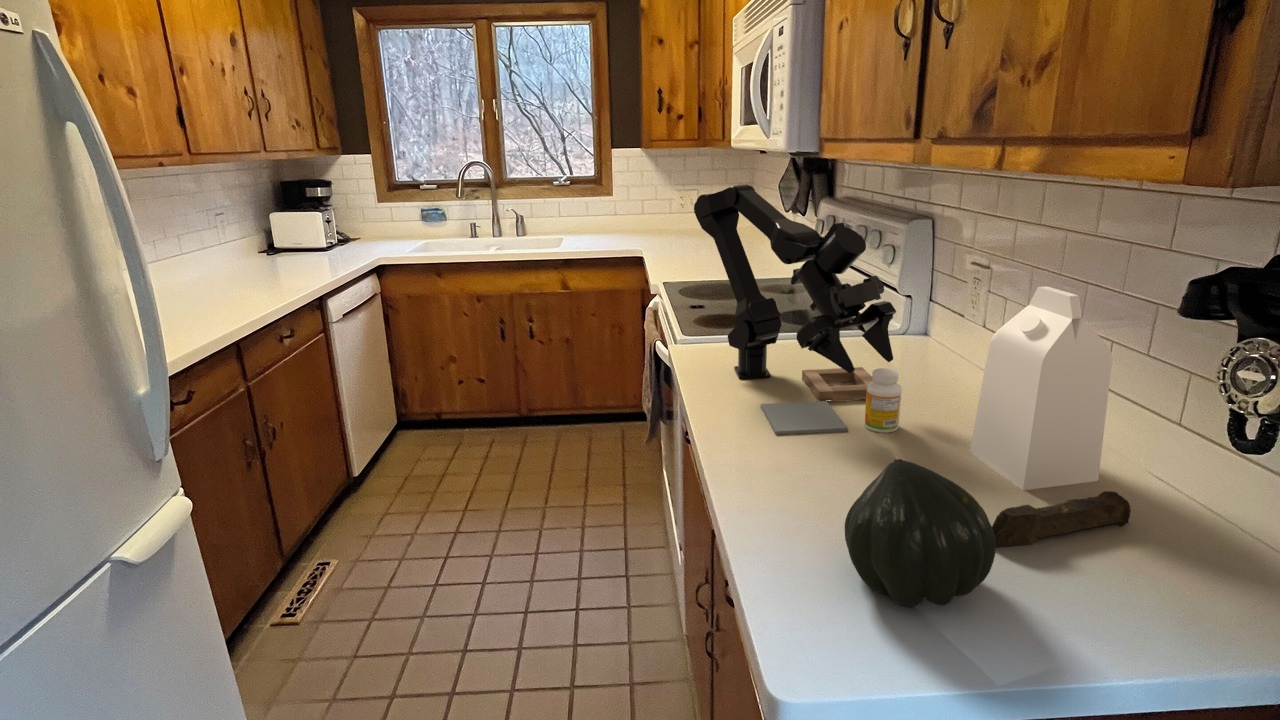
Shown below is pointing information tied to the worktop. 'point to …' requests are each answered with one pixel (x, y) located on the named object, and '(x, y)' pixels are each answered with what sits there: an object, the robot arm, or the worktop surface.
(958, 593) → the squash
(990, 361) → the milk
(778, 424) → the slate mat
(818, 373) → the hole board
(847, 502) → the worktop surface
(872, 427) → the supplement bottle
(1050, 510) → the hand tool
